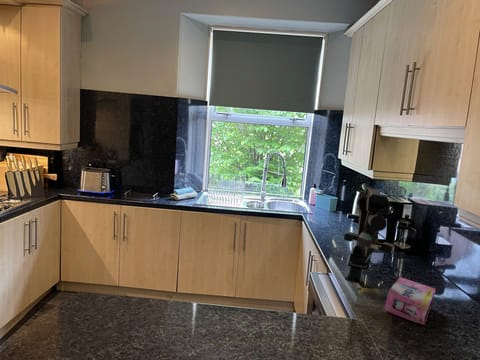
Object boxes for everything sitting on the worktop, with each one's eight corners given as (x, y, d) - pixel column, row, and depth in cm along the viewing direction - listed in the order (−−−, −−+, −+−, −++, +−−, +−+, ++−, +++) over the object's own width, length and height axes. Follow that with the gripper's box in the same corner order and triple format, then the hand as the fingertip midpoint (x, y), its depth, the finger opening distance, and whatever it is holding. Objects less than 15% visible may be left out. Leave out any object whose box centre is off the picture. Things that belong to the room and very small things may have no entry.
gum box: (382, 311, 132) (423, 327, 125) (387, 291, 131) (428, 306, 124) (395, 294, 152) (431, 307, 145) (400, 276, 151) (436, 288, 144)
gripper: (343, 221, 143) (335, 258, 145) (392, 234, 133) (383, 275, 134) (351, 218, 152) (344, 254, 154) (398, 230, 142) (390, 268, 144)
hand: (364, 262), depth 146 cm, fingers closed
